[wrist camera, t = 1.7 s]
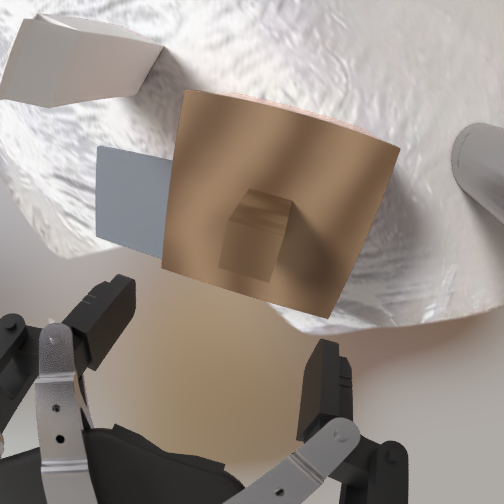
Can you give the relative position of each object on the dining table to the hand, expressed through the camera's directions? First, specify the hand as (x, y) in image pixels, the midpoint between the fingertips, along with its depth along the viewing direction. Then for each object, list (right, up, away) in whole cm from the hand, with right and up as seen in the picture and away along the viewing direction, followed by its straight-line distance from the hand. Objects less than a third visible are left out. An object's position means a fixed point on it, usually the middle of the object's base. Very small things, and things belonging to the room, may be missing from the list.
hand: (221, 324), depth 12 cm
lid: (+2, +6, +11) cm, 13 cm away
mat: (-14, +9, +27) cm, 32 cm away
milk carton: (-14, +26, +18) cm, 35 cm away
